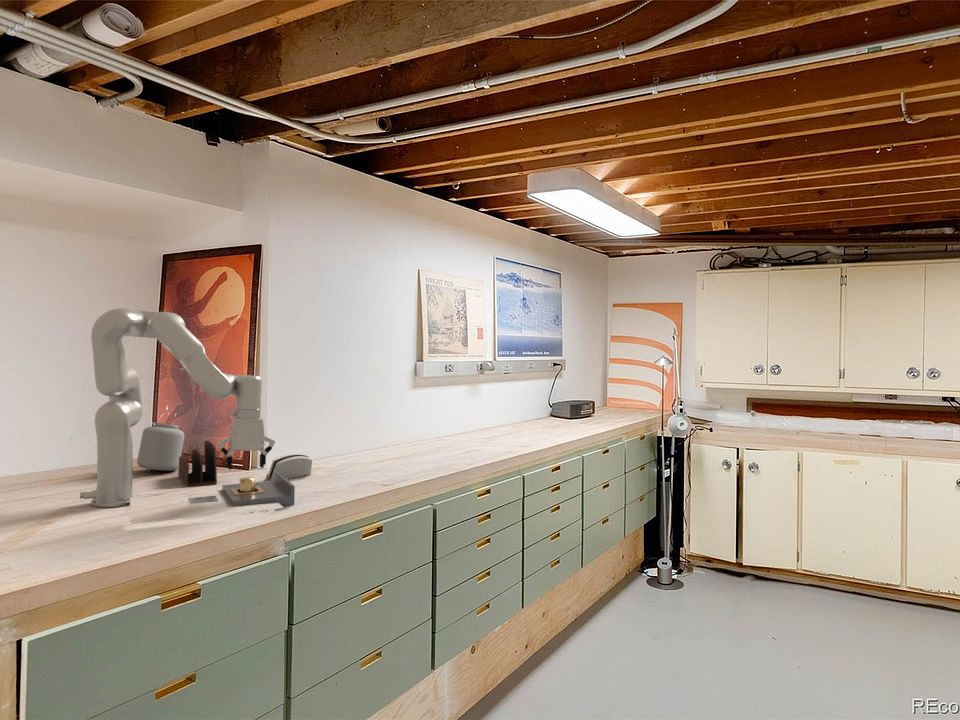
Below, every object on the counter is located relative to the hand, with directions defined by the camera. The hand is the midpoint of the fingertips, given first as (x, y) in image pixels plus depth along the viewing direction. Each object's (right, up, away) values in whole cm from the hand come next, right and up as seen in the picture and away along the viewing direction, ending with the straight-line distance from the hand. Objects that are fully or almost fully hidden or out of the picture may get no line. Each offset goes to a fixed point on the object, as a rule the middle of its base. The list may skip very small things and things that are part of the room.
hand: (245, 467), depth 208 cm
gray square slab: (-11, -10, -6) cm, 16 cm away
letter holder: (-28, -10, +28) cm, 41 cm away
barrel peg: (0, -10, 0) cm, 10 cm away
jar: (-48, -9, +44) cm, 66 cm away
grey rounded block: (+3, -10, +37) cm, 39 cm away
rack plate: (+3, -10, +2) cm, 11 cm away
